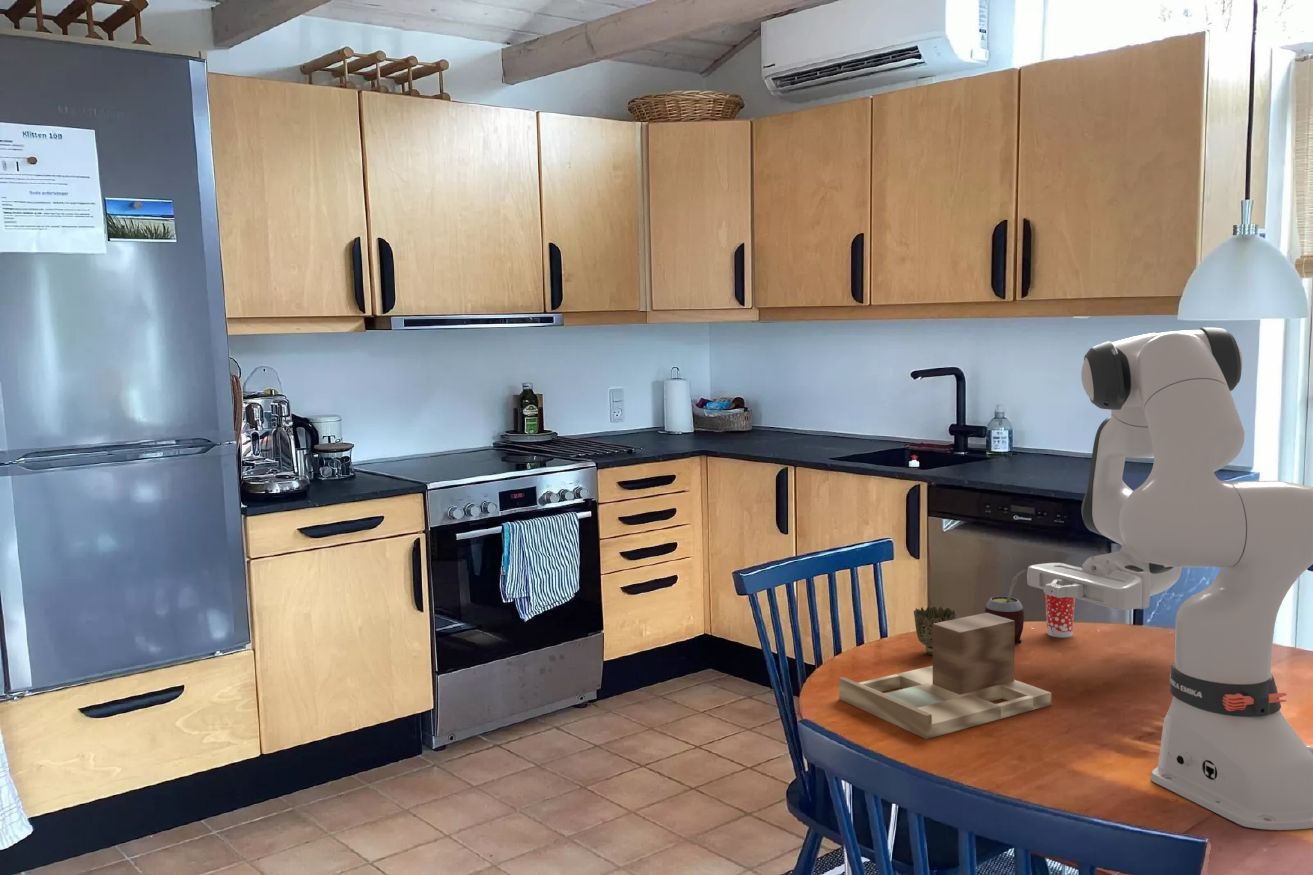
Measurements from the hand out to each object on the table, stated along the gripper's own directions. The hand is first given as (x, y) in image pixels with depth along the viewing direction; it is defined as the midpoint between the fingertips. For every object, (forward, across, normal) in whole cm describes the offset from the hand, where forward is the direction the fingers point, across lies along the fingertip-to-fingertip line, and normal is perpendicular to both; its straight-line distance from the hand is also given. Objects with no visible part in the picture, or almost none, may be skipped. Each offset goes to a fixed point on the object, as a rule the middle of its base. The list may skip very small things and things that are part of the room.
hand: (1051, 591), depth 180 cm
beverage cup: (-20, -15, +15) cm, 29 cm away
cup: (+8, -19, +15) cm, 25 cm away
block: (+18, 0, +12) cm, 22 cm away
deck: (+25, 0, +14) cm, 29 cm away
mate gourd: (-8, -17, +15) cm, 24 cm away
